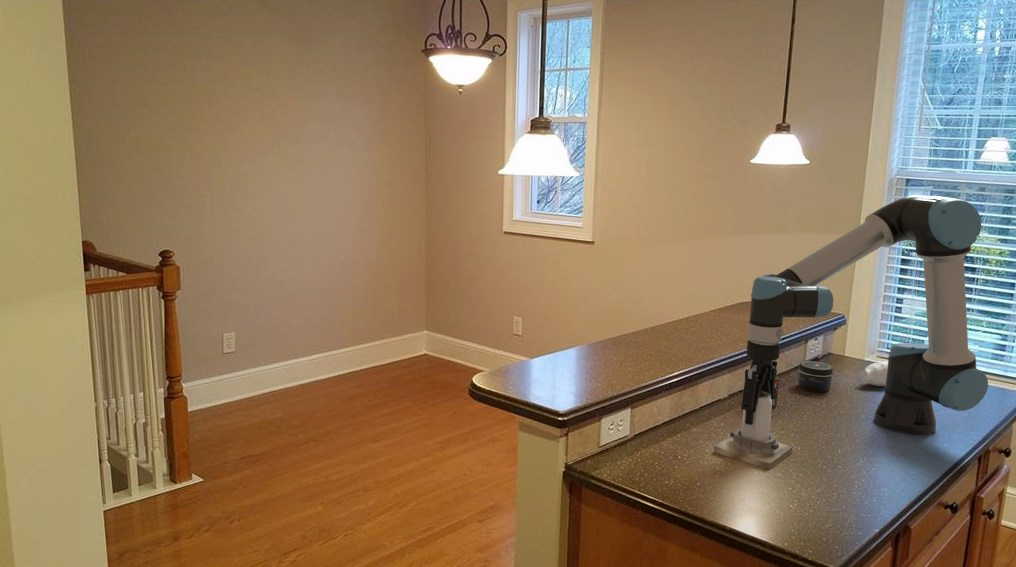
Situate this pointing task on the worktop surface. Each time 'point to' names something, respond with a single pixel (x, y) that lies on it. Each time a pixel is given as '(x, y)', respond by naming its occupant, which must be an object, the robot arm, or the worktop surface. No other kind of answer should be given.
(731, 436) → the grey ring holder base
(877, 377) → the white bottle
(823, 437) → the worktop surface
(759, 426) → the can
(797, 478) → the worktop surface
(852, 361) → the worktop surface
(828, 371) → the jar
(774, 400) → the supplement bottle
